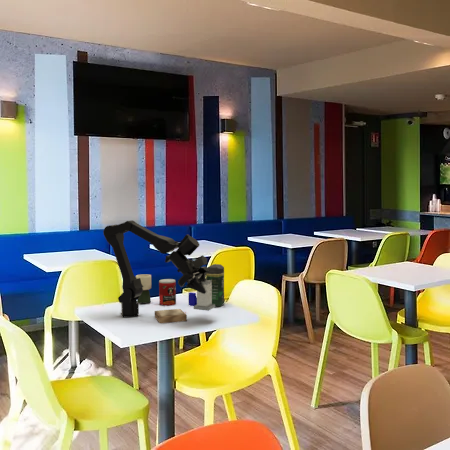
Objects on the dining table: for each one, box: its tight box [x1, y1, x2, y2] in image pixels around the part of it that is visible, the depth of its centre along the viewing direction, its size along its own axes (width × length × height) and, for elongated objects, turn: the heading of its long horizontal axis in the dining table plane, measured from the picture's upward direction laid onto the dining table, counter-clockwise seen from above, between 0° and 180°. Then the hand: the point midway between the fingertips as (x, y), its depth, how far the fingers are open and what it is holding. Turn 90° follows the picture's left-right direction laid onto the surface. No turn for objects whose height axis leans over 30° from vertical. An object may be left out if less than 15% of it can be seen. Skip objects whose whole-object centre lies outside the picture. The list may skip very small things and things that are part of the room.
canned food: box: [158, 278, 177, 307], centre depth 250 cm, size 8×8×11 cm
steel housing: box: [193, 280, 216, 311], centre depth 217 cm, size 6×6×11 cm
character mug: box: [135, 273, 152, 304], centre depth 253 cm, size 11×7×13 cm, turn 166°
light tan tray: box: [154, 308, 188, 324], centre depth 222 cm, size 11×11×3 cm
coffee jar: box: [206, 263, 225, 307], centre depth 247 cm, size 10×8×19 cm
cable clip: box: [188, 292, 197, 307], centre depth 251 cm, size 12×4×6 cm, turn 146°
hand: (207, 292), depth 216 cm, fingers closed on steel housing, 4 cm apart
